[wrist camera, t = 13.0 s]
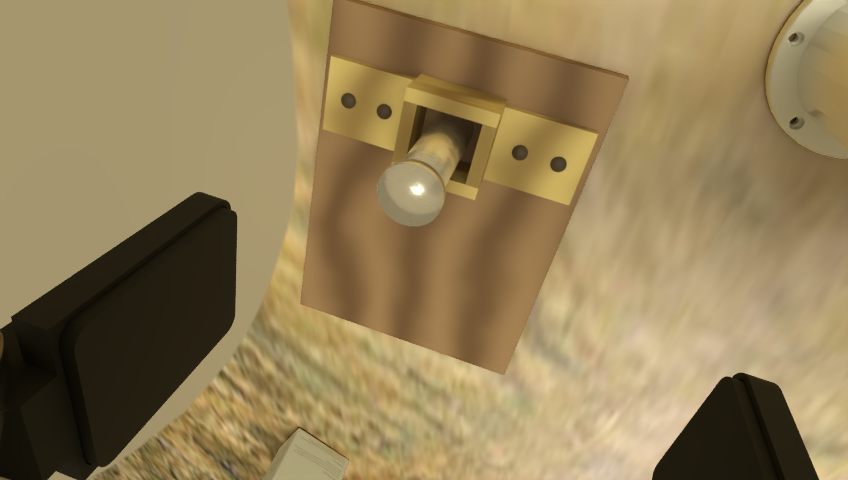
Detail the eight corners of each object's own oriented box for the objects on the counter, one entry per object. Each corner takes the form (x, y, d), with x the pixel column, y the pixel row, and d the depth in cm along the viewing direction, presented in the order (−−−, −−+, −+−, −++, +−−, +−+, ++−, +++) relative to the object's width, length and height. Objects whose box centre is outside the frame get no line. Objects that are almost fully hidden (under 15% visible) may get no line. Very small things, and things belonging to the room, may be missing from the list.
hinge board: (627, 75, 38) (633, 95, 34) (505, 366, 54) (498, 405, 50) (340, -5, 40) (310, 3, 36) (305, 297, 56) (282, 327, 52)
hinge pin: (484, 110, 40) (449, 175, 30) (472, 158, 43) (435, 234, 32) (434, 96, 41) (382, 155, 30) (424, 144, 43) (372, 215, 32)
